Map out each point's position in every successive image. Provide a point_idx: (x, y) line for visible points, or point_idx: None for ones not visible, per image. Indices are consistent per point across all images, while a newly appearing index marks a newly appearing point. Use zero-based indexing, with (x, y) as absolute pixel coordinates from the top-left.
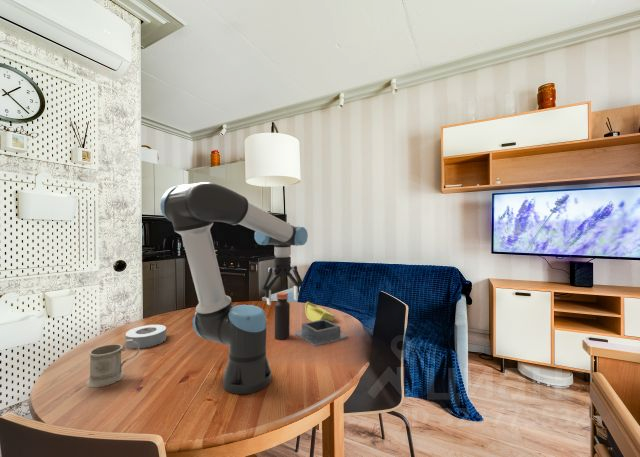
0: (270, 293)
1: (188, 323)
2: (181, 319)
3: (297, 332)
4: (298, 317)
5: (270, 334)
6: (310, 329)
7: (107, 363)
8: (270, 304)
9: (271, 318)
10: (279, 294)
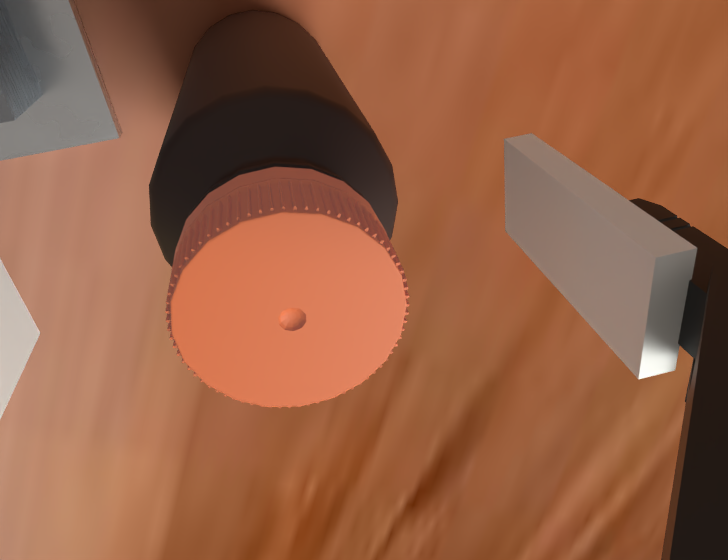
0: (624, 220)
1: None
2: None
3: (90, 105)
4: (21, 477)
5: None
6: None
7: None
8: (517, 139)
9: (251, 492)
10: (381, 248)
